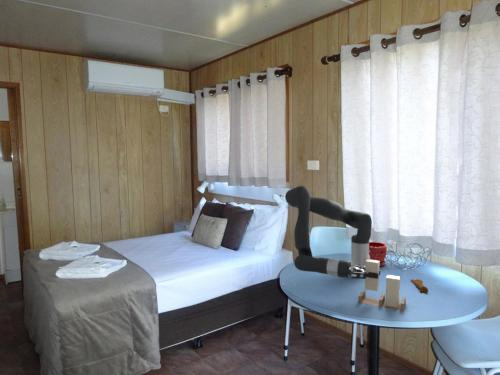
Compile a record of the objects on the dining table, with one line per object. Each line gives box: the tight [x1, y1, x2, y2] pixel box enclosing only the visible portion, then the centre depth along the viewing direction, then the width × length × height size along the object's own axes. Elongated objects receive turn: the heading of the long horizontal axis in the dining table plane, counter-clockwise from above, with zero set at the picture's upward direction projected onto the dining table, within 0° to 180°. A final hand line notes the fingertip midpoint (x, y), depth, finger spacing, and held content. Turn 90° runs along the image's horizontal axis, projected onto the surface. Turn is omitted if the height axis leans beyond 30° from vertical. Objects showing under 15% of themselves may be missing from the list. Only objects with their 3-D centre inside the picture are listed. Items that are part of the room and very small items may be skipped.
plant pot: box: [369, 241, 388, 267], centre depth 210 cm, size 13×13×12 cm
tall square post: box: [385, 274, 401, 308], centre depth 149 cm, size 4×5×12 cm
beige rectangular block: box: [364, 259, 380, 292], centre depth 152 cm, size 4×5×12 cm
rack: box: [358, 289, 407, 312], centre depth 151 cm, size 8×18×4 cm, turn 61°
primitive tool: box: [410, 278, 429, 294], centre depth 174 cm, size 19×6×4 cm, turn 170°
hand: (379, 274), depth 151 cm, fingers closed on beige rectangular block, 4 cm apart
